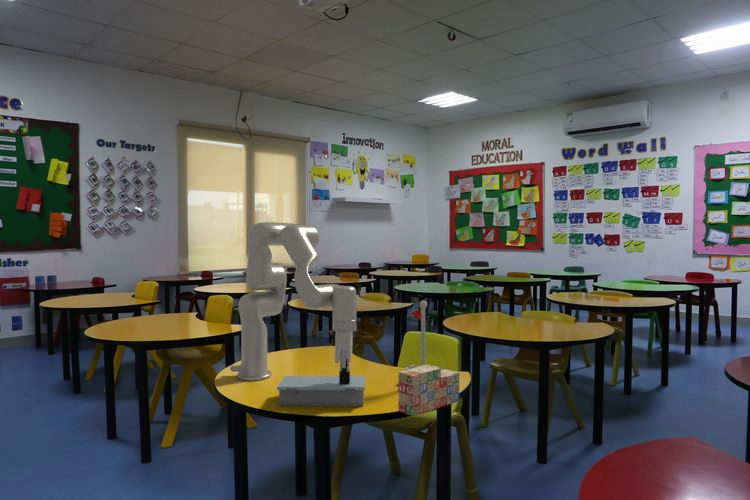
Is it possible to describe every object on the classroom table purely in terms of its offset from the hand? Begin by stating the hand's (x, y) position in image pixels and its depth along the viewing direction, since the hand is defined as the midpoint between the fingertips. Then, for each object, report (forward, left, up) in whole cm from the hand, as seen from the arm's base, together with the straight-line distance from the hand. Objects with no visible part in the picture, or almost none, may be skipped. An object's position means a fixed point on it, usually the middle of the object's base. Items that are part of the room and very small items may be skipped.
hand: (344, 383), depth 150 cm
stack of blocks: (+27, -2, -7) cm, 28 cm away
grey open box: (-7, +3, -6) cm, 10 cm away
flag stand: (+27, +21, -7) cm, 35 cm away
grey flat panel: (-7, +2, -2) cm, 8 cm away
